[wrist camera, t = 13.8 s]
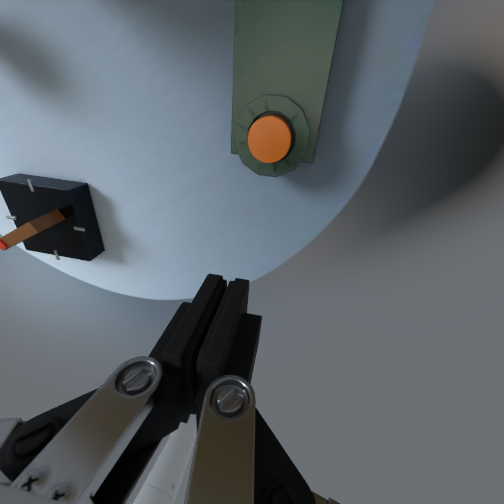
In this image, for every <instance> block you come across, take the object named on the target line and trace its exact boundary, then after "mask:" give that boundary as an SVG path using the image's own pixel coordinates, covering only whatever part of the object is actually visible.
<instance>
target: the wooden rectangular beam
mask: <svg viewBox="0 0 504 504" xmlns="http://www.w3.org/2000/svg"><path fill="white" fill-rule="evenodd" d="M65 219H66V218H65V217H64V216H63V215H62V213H61V212H60V211H59V210H58V209H57V210H55V211H52V212H50V213H48V214H46V215H43V216H41V217H39V218H37V219H34V220H32V221H30V222H28V223H26V224H24V225H22V226H21V227H19V228H17V229H15V230H14V231H12V232H10V233H8V234H6V235H5V236H3V237H1V238H0V249H1V250H6V249H8V248H10V247H12V246H14V245H16V244H18V243H20V242H22V241H24V240H26V239H28V238H30V237H32V236H34V235H36V234H38V233H40V232H42V231H44V230H46V229H48V228H50V227H52V226H53V225H55V224H57V223H59V222H61V221H63V220H65Z"/></svg>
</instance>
